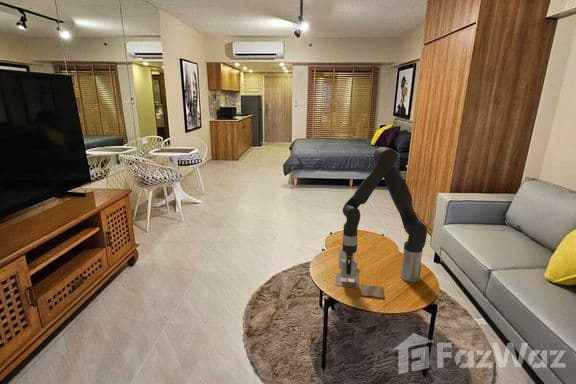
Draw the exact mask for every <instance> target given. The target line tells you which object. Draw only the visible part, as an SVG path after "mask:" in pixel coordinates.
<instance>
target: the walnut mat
mask: <svg viewBox="0 0 576 384" xmlns="http://www.w3.org/2000/svg"><path fill="white" fill-rule="evenodd" d="M384 292H385V291H384V287H383V286H375V285H369V284H368V285H367V284H360V296H361V297H364V298H365V297H366V298H373V299H382V300H383V299H385V293H384Z"/></svg>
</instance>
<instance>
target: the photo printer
mask: <svg viewBox="0 0 576 384" xmlns="http://www.w3.org/2000/svg"><path fill="white" fill-rule="evenodd" d="M338 252H339V253H338V266H339V267H341V259H346V258H345V255H346V252H344V251H343V250H342V246H341V247H339V251H338ZM355 254H356V252H355V253H353V259H356V258H355Z"/></svg>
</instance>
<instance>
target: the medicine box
mask: <svg viewBox="0 0 576 384" xmlns="http://www.w3.org/2000/svg"><path fill="white" fill-rule="evenodd" d="M357 273H358V262H357V260H356V258H354V259H352V264H351V274H350V275H347V274H346V259H341V266H340V273H339V274H341V276H342V277H357V275H358V274H357Z"/></svg>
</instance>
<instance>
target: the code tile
mask: <svg viewBox="0 0 576 384" xmlns="http://www.w3.org/2000/svg"><path fill="white" fill-rule="evenodd" d="M359 280H360V276H359V275H358V274H357V277H342V276H341V273H339V272H337V273H336V276H335V284H334V285H335V286H336V287H345V288H351V289H352V288H354V289H359V288H360V281H359Z"/></svg>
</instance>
